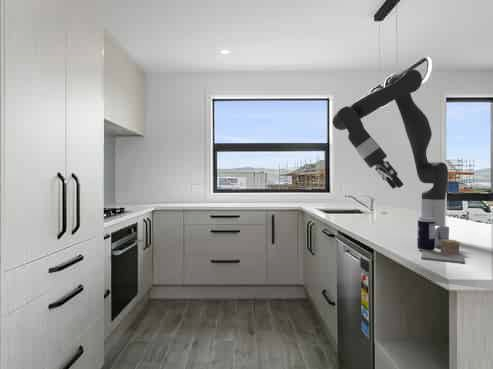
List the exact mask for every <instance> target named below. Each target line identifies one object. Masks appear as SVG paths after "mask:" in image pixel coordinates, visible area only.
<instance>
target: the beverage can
mask: <svg viewBox="0 0 493 369" xmlns="http://www.w3.org/2000/svg"><path fill="white" fill-rule="evenodd" d="M416 239H417V240H416V242H417V244H416V245H417V246H416V247H417V249H418V250H419V251H420V250H421V252H422V251H433V252H434V250H435V249H436V248H435V220H434V218H431V217H421V216H419V217H418V219H417V238H416Z"/></svg>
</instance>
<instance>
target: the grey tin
mask: <svg viewBox="0 0 493 369" xmlns="http://www.w3.org/2000/svg"><path fill="white" fill-rule="evenodd" d="M441 240H450V227H449V226H447V225H445V226H435V249H438V250H441Z"/></svg>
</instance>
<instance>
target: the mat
mask: <svg viewBox="0 0 493 369" xmlns="http://www.w3.org/2000/svg"><path fill="white" fill-rule="evenodd" d="M420 257H421V260H428V261H439V262H446V263H456V264H465V260H464V256H463V254H461V253H459V254H454V253H443V252H441V251H434V250H433V251H421V256H420Z"/></svg>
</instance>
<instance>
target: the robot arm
mask: <svg viewBox="0 0 493 369" xmlns="http://www.w3.org/2000/svg"><path fill="white" fill-rule="evenodd" d="M388 82H389V84H388V85H386V86H384V87H382V88H379V89H377V90H375V91H371V92H369V93H367V94H365V95H364V96H362V97H361V98H359V99H357V100H356V101H354V102H353V103H352V104H351V105H350V106H348V105H347V106H342V107H341V108H340V109H339V110H338V111H337V112H336V114H334V116H333V118H332V125H333V127H334V128H335V129H337V130H339V131H345V130H347V132H348V135H347V136H348V137H347V138H348V141H349V142H350V143H351V145H352V146H353V147H354V148H355V150H356V151H357V153H358V154H359V156H360V157H361V158H362V160H363V161H364V162H365V164H366V165H367V166H368V167H369V168H370V169H371V168H373V167H374V166H375V168H374V169H375V171H376V172H377V173H378V175H379V176H380V177H381V179H382V180H383V181H385V182H386V183H387V184H388V185H389V186H390V188H392V189H396V188H398V189H400V188H401V187H403V186H404V183H403V181H402V180H401V178H399V176H398V174H399V173H398V172H397V171H396V169H395V168H394V167H393V166H392V165H391V164H390V163H389V161H387V160H386V161H385V160H384V159H386V158H387V154H386V152H385V151H384V150H383V149H382V148H381V146H380V145H379V143H378V142H377V141H376V140H375V139H374V138H373V137H372V136H371V135H370V134H369V132H368V131H367V129H366V128H365V127H364V124H363V122H362V119H363V118H365V117H367V116H369V115H371V114H372V113H373V112H375V111H376V110H379V109H380V108H382V107H383V106H385V105H387V104H389V103H391V102H393V101H395V103H396V105H397V108H398V111H399V114H400V117H401V119H402V123H403V125H404V128H405V133H406V135H407V138H408V141H409V144H410V148H411V151H412V154H413V159H414V164H415V165H414V166H415V170H416V173H417V174H416V175H417V177H418V180H419V181H420V182H421V183H423V184H432V185H433V186H432V188H430V189H428V190H425V191H423V192H422V193H421V208H420V209H421V214H420V217H431V218H434V220H435V226H446V195H447V192H448V179H449V168H448V166H447V164H446V163H445V162H442V161H441V162H439V161H436V162H433V161H432V162H429V160H428V157H427V149H428V147H429V145H430V141H431V140H432V134H433V133H432V128H431V125H430V122H429V119H428V117H427V116H426V114H425V113H424V112H423V111H422V109H420V107H418V106H417V104H416V103H415V102H414V99H413V97H412V95H411V94H412V93H414V92H417V91H418V90H419V89H420V88H421V86H422V83H423V76H422V73H421V72H420V71H419V70H417V69H415V68H413V69H404V70H399V71H395V72H392V74H391V75H390V77H389V81H388Z"/></svg>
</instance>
